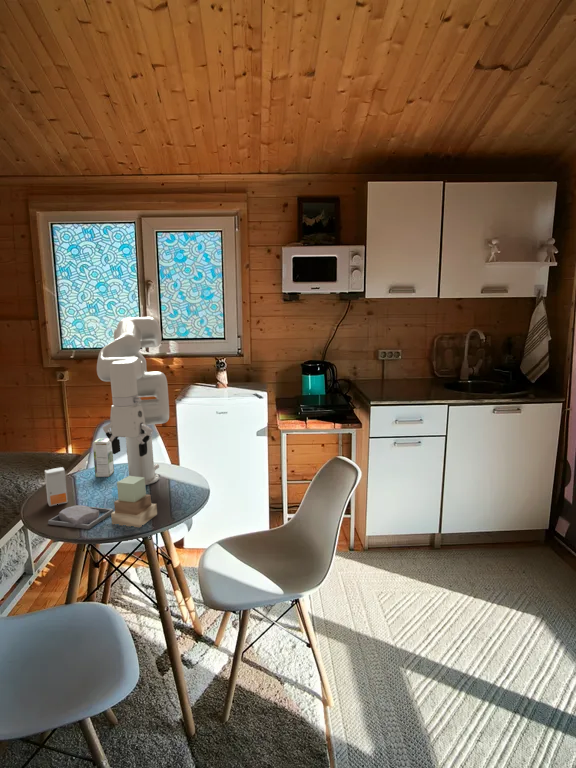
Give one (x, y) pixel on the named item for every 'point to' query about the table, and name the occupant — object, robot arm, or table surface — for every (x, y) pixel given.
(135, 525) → the beech block
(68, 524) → the tray rim
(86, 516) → the stone block
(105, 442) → the syrup box
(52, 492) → the skincare box
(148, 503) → the walnut block
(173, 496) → the table surface
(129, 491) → the green cube
